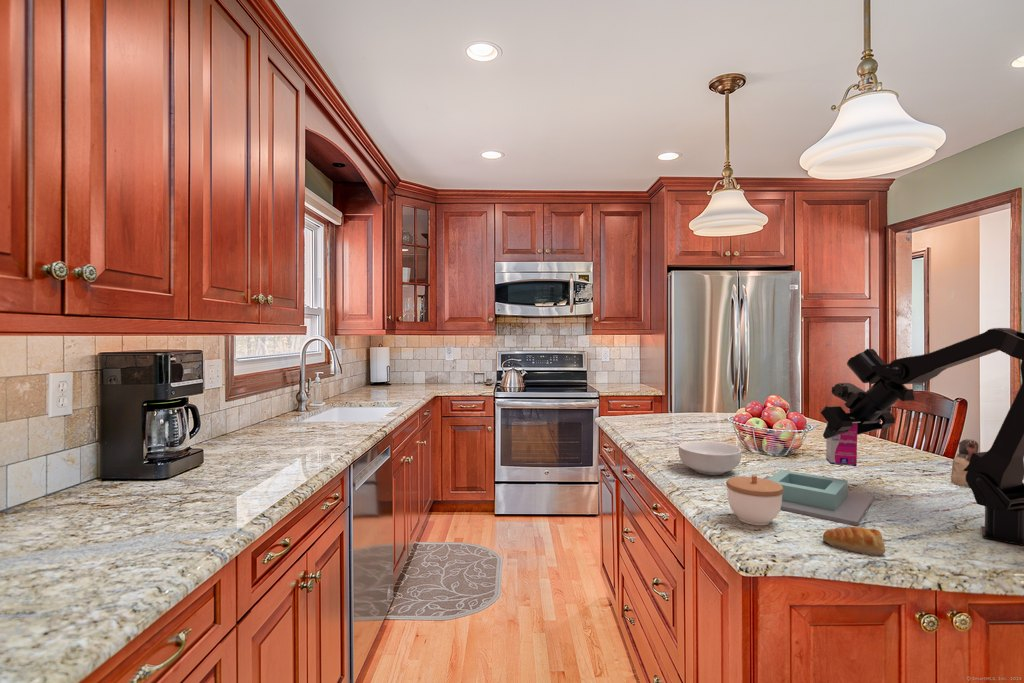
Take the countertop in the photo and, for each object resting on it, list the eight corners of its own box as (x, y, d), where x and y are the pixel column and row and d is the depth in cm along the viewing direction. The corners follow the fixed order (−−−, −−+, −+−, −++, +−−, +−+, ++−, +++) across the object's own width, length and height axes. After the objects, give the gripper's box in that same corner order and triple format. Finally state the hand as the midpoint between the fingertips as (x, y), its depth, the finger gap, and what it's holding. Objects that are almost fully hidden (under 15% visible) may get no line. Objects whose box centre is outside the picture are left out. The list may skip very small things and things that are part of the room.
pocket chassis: (874, 498, 123) (875, 480, 123) (857, 526, 105) (857, 505, 105) (766, 478, 139) (767, 462, 139) (735, 500, 121) (736, 481, 121)
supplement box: (830, 464, 130) (830, 419, 130) (825, 459, 135) (825, 416, 135) (857, 466, 128) (857, 420, 128) (851, 461, 133) (851, 417, 133)
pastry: (827, 550, 94) (827, 529, 94) (819, 537, 100) (819, 517, 100) (888, 558, 90) (888, 536, 90) (876, 543, 97) (876, 523, 97)
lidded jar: (742, 530, 102) (742, 483, 102) (717, 511, 113) (717, 469, 113) (794, 529, 103) (794, 482, 103) (764, 510, 114) (764, 468, 114)
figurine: (985, 484, 135) (986, 438, 134) (989, 490, 129) (990, 443, 129) (949, 479, 139) (950, 435, 139) (952, 485, 133) (952, 439, 133)
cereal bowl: (671, 463, 155) (671, 440, 155) (727, 464, 155) (727, 440, 154) (688, 479, 138) (688, 453, 138) (751, 480, 138) (751, 454, 138)
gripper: (883, 371, 131) (842, 409, 141) (827, 373, 125) (789, 412, 135) (916, 406, 123) (870, 444, 134) (858, 410, 117) (816, 449, 128)
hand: (836, 436), depth 133 cm, fingers closed on supplement box, 8 cm apart
